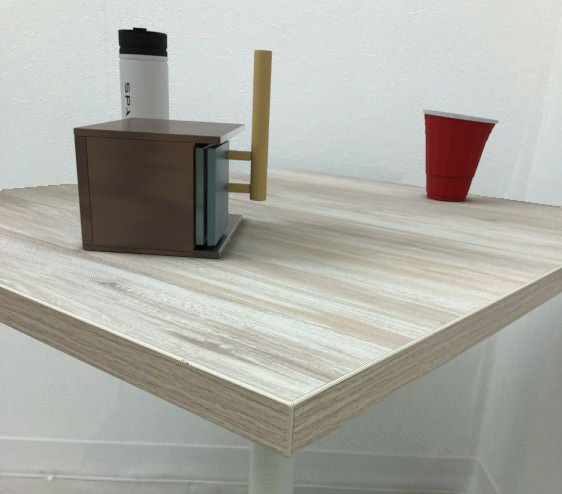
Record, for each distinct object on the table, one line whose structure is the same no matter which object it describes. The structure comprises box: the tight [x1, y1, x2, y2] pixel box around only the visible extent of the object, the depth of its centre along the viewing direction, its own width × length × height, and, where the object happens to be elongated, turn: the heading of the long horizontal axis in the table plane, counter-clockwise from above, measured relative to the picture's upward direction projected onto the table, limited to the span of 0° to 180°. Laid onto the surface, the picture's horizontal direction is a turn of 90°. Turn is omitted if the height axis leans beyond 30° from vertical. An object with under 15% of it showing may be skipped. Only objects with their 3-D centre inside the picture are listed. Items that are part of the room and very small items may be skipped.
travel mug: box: [117, 26, 170, 120], centre depth 86 cm, size 6×7×20 cm
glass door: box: [207, 49, 273, 246], centre depth 58 cm, size 4×8×16 cm, turn 176°
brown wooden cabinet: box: [72, 118, 246, 260], centre depth 63 cm, size 12×18×10 cm
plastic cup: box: [422, 108, 500, 202], centre depth 94 cm, size 11×11×12 cm
